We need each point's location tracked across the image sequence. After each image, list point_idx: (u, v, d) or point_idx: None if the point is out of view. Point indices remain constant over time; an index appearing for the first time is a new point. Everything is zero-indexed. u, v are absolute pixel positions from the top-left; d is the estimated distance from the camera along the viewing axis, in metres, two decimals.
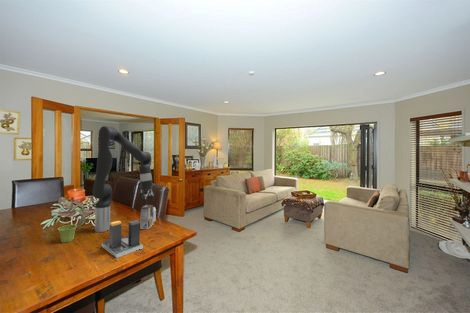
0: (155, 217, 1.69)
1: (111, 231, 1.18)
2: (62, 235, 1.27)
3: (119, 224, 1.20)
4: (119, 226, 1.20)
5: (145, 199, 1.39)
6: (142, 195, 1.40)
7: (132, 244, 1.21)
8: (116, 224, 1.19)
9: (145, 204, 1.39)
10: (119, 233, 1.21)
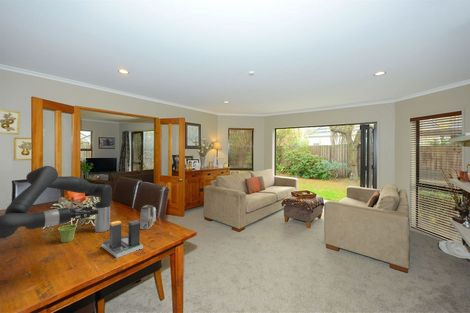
0: (155, 217, 1.69)
1: (111, 231, 1.18)
2: (62, 235, 1.27)
3: (119, 224, 1.20)
4: (119, 226, 1.20)
5: None
6: (78, 208, 1.09)
7: (132, 244, 1.21)
8: (116, 224, 1.19)
9: (91, 209, 1.14)
10: (119, 233, 1.21)
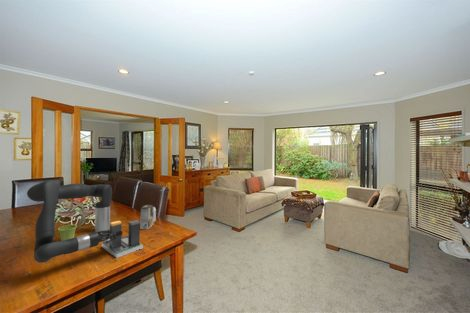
0: (155, 217, 1.69)
1: (111, 231, 1.18)
2: (62, 235, 1.27)
3: (119, 224, 1.20)
4: (119, 226, 1.20)
5: None
6: (107, 231, 1.19)
7: (132, 244, 1.21)
8: (116, 224, 1.19)
9: None
10: None
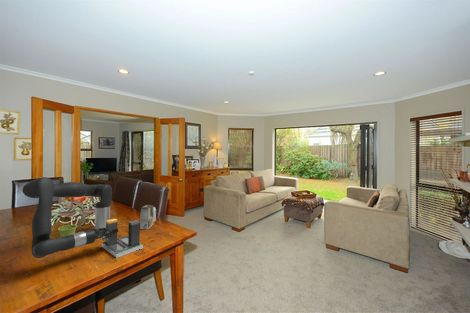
0: (155, 217, 1.69)
1: (107, 229, 1.21)
2: (62, 235, 1.27)
3: (115, 222, 1.24)
4: (115, 224, 1.24)
5: None
6: (103, 229, 1.23)
7: (132, 244, 1.21)
8: (112, 222, 1.22)
9: None
10: None
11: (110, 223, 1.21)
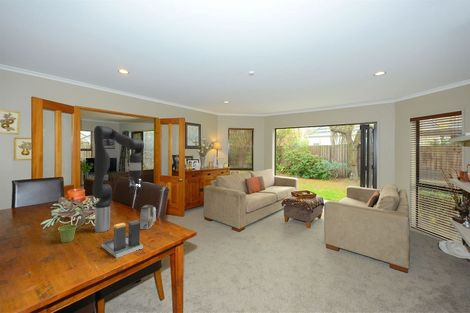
0: (155, 217, 1.69)
1: (115, 234, 1.15)
2: (62, 235, 1.27)
3: (123, 226, 1.17)
4: (123, 228, 1.17)
5: (130, 187, 1.39)
6: None
7: (132, 244, 1.21)
8: (120, 226, 1.16)
9: (130, 192, 1.39)
10: (123, 236, 1.17)
11: (118, 228, 1.15)
